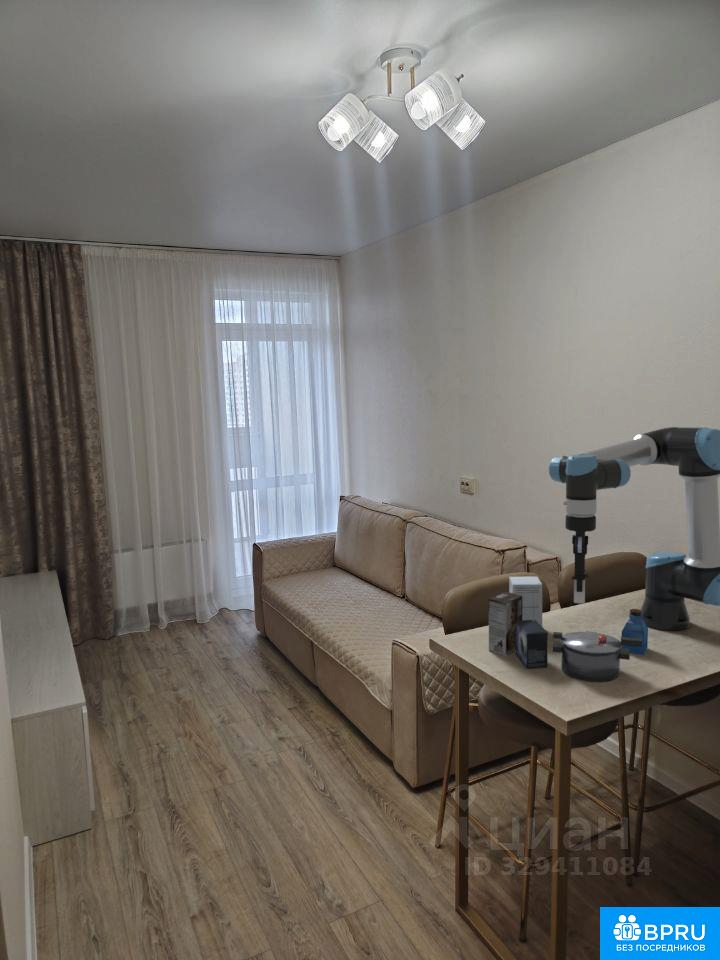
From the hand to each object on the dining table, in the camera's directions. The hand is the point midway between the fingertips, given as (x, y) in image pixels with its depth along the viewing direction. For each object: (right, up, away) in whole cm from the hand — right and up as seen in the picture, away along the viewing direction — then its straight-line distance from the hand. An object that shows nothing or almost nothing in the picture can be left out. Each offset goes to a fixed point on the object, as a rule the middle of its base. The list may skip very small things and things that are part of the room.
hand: (579, 602), depth 174 cm
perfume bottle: (+23, -18, +19) cm, 35 cm away
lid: (+6, -12, +5) cm, 15 cm away
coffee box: (-15, -18, +23) cm, 33 cm away
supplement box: (-5, -16, +37) cm, 41 cm away
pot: (+5, -20, +6) cm, 21 cm away
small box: (-9, -19, +13) cm, 25 cm away
